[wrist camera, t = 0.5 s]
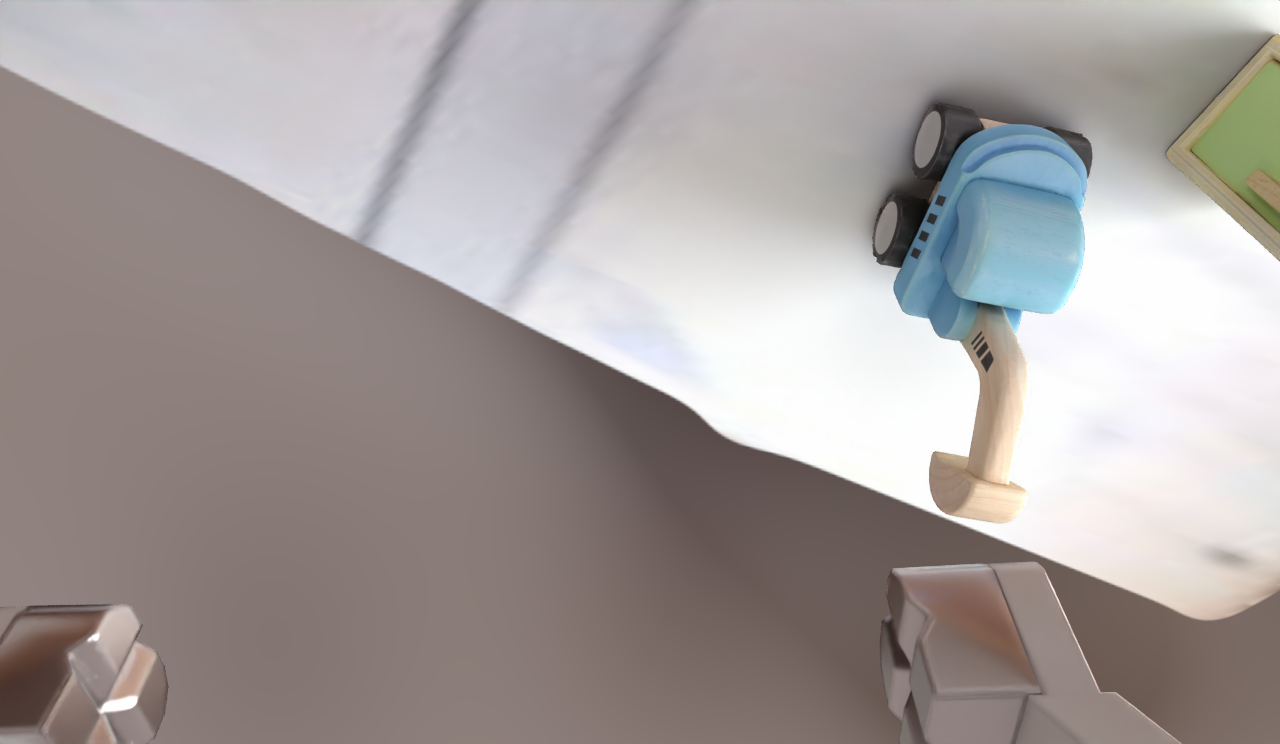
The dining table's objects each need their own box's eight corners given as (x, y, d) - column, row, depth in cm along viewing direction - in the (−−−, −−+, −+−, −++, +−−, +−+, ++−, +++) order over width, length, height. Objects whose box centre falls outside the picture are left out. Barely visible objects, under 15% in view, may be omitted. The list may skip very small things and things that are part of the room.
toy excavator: (826, 329, 62) (882, 525, 48) (935, 75, 53) (1043, 228, 39) (952, 356, 64) (1042, 553, 50) (1081, 111, 54) (1237, 272, 40)
